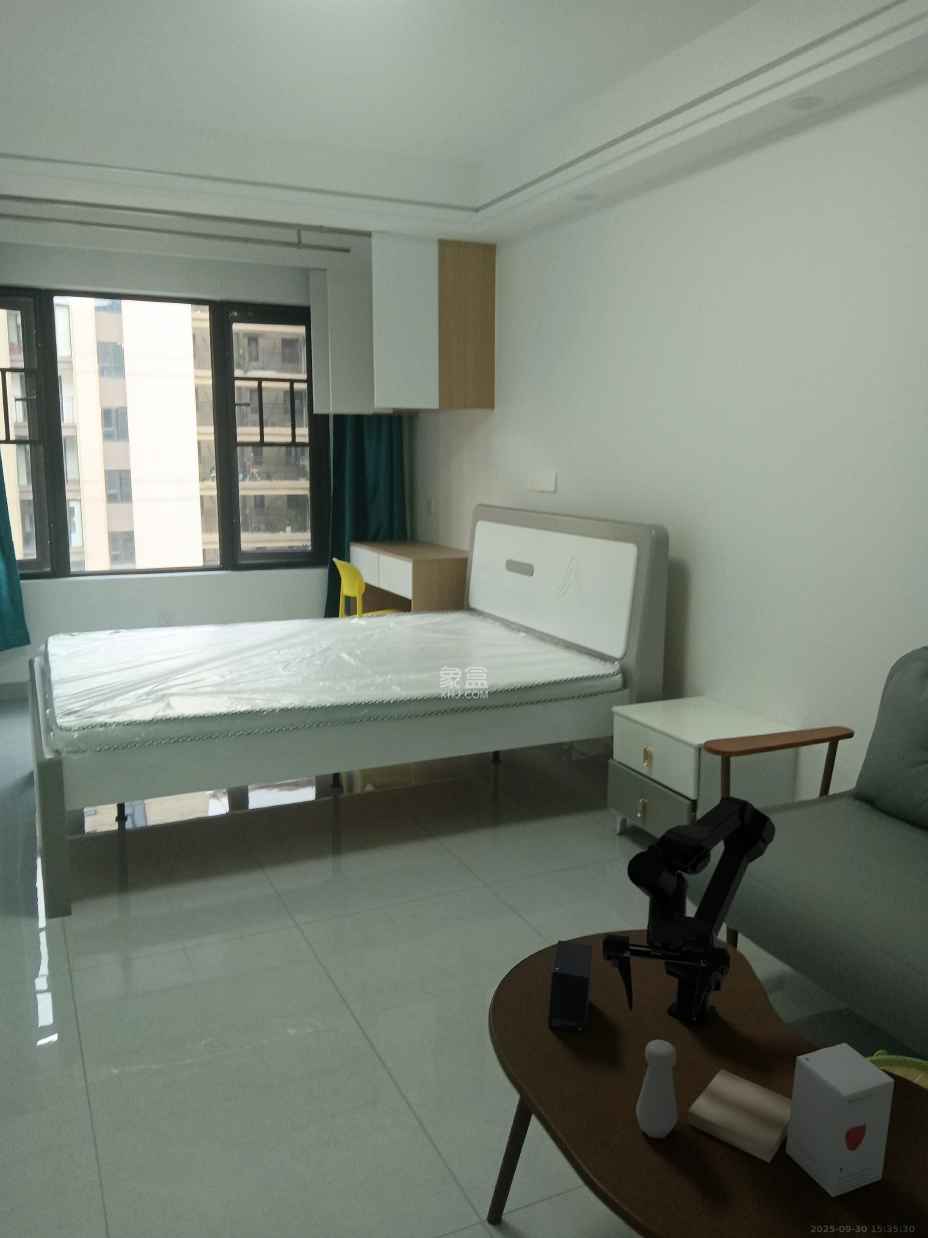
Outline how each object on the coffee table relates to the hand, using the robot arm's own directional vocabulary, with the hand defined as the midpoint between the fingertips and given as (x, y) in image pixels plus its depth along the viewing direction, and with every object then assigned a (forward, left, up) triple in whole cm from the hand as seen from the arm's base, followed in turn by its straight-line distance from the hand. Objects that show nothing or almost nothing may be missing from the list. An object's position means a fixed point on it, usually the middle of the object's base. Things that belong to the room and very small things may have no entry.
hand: (662, 1014), depth 139 cm
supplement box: (-2, +25, -13) cm, 29 cm away
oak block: (-3, +12, -14) cm, 19 cm away
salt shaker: (+7, +3, -13) cm, 15 cm away
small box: (-9, -21, -13) cm, 26 cm away
